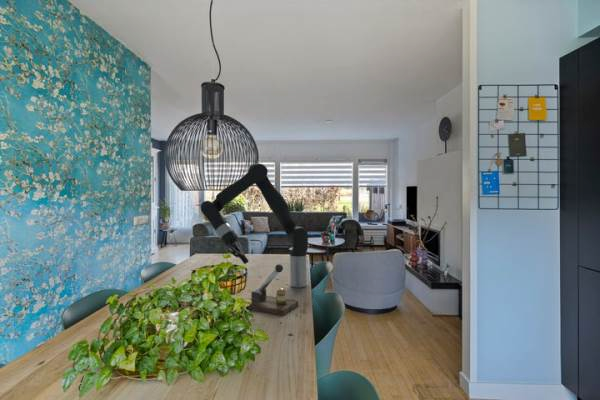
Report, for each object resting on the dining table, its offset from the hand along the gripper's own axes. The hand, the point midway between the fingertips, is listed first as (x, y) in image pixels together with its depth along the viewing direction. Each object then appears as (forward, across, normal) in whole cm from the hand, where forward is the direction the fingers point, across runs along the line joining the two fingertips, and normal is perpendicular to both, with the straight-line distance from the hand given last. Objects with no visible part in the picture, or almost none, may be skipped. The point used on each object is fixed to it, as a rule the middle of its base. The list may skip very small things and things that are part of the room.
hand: (246, 262), depth 150 cm
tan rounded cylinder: (+25, -3, -4) cm, 26 cm away
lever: (+15, -1, +4) cm, 16 cm away
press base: (+23, -2, +2) cm, 23 cm away
